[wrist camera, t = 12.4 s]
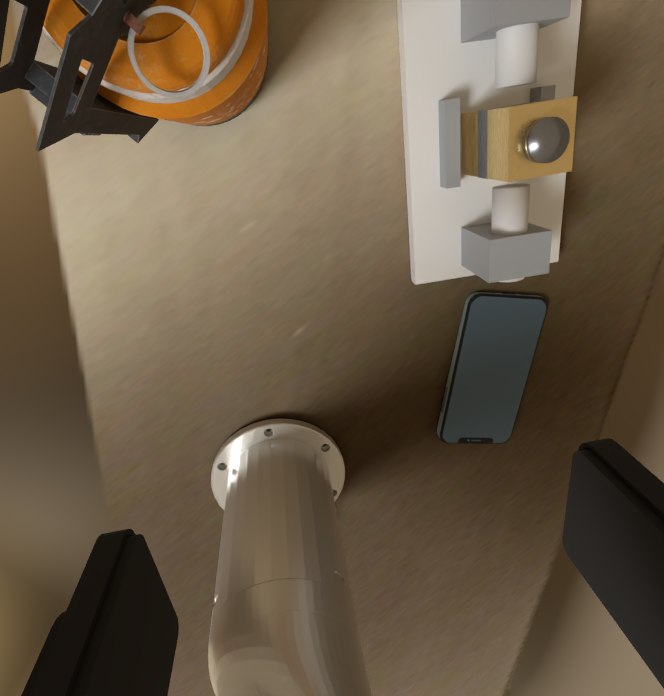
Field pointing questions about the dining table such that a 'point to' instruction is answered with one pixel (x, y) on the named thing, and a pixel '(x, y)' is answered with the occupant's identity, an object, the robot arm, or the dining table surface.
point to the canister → (138, 62)
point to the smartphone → (490, 367)
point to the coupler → (519, 140)
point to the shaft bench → (446, 132)
